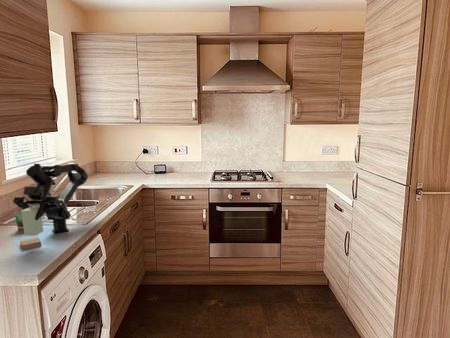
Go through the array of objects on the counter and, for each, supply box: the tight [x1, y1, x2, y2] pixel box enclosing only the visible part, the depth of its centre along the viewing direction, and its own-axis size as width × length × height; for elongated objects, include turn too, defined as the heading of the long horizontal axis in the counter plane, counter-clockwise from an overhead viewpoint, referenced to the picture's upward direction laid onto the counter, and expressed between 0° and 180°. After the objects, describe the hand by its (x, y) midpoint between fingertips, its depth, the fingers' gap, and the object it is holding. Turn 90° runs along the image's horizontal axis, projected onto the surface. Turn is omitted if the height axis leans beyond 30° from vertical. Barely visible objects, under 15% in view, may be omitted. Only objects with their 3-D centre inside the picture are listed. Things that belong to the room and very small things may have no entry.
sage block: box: [20, 206, 44, 237], centre depth 138 cm, size 5×5×11 cm
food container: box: [13, 204, 37, 231], centre depth 164 cm, size 12×6×10 cm, turn 170°
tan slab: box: [19, 236, 42, 251], centre depth 141 cm, size 7×7×2 cm
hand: (29, 219), depth 137 cm, fingers closed on sage block, 5 cm apart
